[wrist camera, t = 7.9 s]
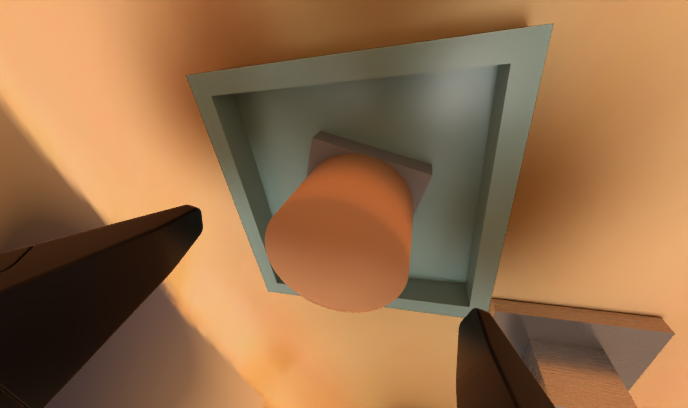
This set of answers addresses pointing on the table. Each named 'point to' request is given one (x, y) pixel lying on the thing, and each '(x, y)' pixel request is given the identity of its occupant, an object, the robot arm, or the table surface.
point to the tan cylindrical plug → (348, 225)
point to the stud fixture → (582, 350)
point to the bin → (391, 144)
